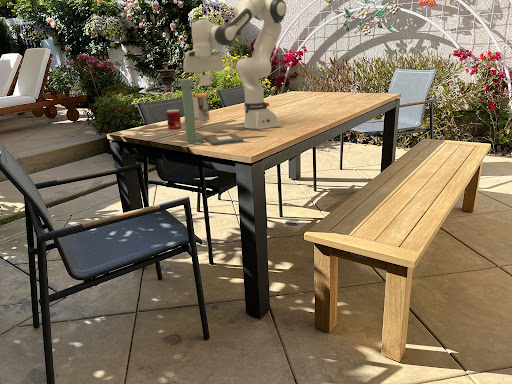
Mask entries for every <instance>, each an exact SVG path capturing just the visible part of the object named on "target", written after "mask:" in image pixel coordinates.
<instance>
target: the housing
mask: <svg viewBox="0 0 512 384" xmlns="http://www.w3.org/2000/svg"><path fill="white" fill-rule="evenodd" d="M210 76H211V74H206V72H201V74H199V75H198V74H197V77H198V78H200V81H198V85H199V86H200V87H202V86H211V80H210Z"/></svg>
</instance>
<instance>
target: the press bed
mask: <svg viewBox="0 0 512 384" xmlns="http://www.w3.org/2000/svg"><path fill="white" fill-rule="evenodd" d="M205 141H206V142H207V143H208V144H210V146H220V145H229V144H231V145H232V144H238V143H244V138H242V137H241V136H239V135H238V134H235V133H234V134H226V135H216V136H215V135H214V136H206V137H205Z"/></svg>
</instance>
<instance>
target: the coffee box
mask: <svg viewBox="0 0 512 384" xmlns="http://www.w3.org/2000/svg"><path fill="white" fill-rule="evenodd" d="M192 97H195V95H192ZM208 100H209V99H208V96H207V97H203V98H198V108H199V118H194V122H195V121H199V122H207V121H209V120H210V112H209V111H210V109H209V101H208Z"/></svg>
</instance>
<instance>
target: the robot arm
mask: <svg viewBox="0 0 512 384" xmlns="http://www.w3.org/2000/svg"><path fill="white" fill-rule="evenodd" d="M233 12H234V16H235V17H234V18H233V19H232V20H231V21H229V22H228V23H227V22H226V23H223V24H214V23H213V22H210V21H209V19H207V17H202V18H197V19H194V20H193V21H192V22H191V38H192V43H193V44H192V50H191V49H190V50H189V51H187V52H185V53H184V58H183V65H182V66H183V72H184V73H193V75H194V76H195V78H196V82H199V81H200V78H199V77H198V73H202V72H205V73H206V72H210V81H213V76H214V74H215V73H214V72H220V71H223V70H224V65H223V54H222V53H221V52H218V51H216V52H215V51H214V52H213V51H212V50H211V46H230V45H232V44H233V43H234V42H235V40H236V37H237V35H238V34H239V33H240V32H241V31H242V30H243V29H244V28H245V26H247V25H248V23H250V21H251V20H253V19H256V21H263V26H262V28H261V30H260V32H259V34H258V35H257V37H256V39H255V41H254V43H253V49H254V54H253V56H252V57H244V58H242V59H239V60H238V61H237V62H236V65H235V71H236V73H237V75H239V77H240V80H241V82H242V86H243V91H244V105H243V106H244V109H243V110H244V123H243V128H245V129H253V130H255V129H256V130H261V129H263V130H264V129H268V128H269V129H270V128H276V127H281V126H282V123H281V122H280V121H278V117H277V115H276V114H275V113H274V112H273V111H272V110H270V109H269V108H268V107H270V106H271V105H270V104H271V103H270V102H265V99H264V96H265V95H264V93H265V90H264V87H263V86H262V85H261V83H260V80H259V79H264V78H265V77H268V76H269V75H270V74H271V72H272V63H271V57H272V56H271V55H272V53H273V51H274V49H275V47H276V44H277V42H278V41H279V38H280V35H281V32H282V29H283V28H282V27H283V26H282V24H281V23H282V22H283V20H284V18H285V16H286V14H287V13H286V12H287V5H286V2H285V1H284V0H238V1H237V3H236V4H235V5H234V7H233Z"/></svg>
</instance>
